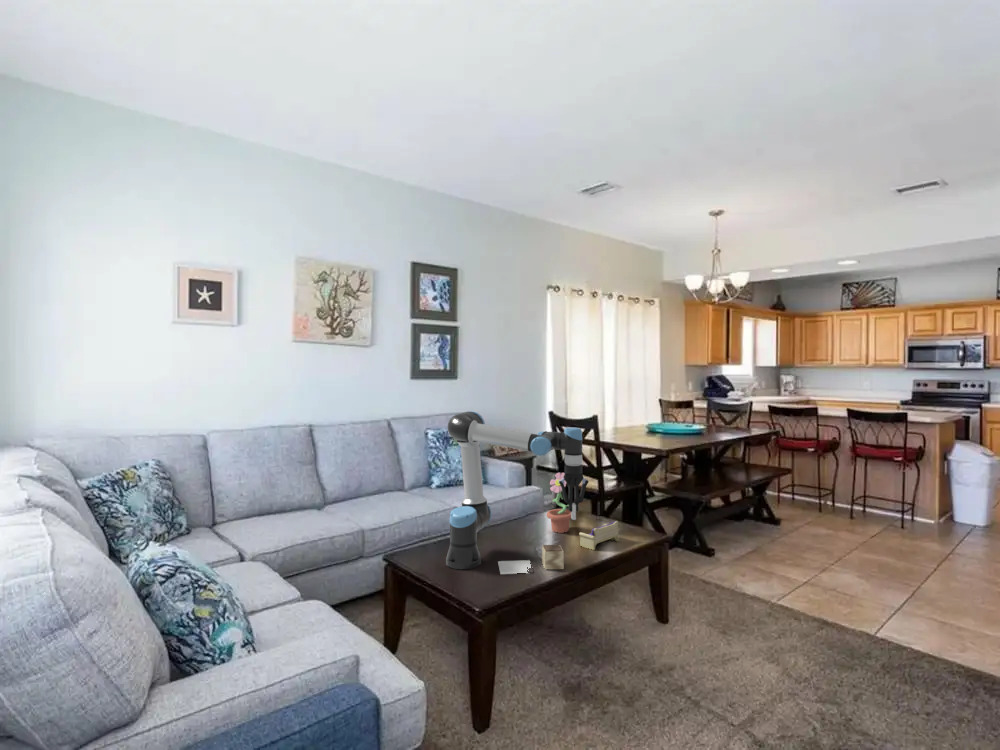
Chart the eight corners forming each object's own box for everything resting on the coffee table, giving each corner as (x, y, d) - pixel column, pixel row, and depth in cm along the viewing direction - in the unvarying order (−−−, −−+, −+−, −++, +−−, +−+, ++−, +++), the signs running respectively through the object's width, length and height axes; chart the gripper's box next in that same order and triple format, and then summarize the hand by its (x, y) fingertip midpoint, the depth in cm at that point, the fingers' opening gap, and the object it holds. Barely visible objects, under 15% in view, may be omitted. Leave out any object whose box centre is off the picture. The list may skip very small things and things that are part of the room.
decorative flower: (539, 529, 290) (539, 472, 289) (559, 524, 299) (559, 468, 298) (559, 536, 278) (559, 477, 277) (579, 531, 287) (579, 473, 286)
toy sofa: (605, 536, 279) (605, 516, 279) (619, 541, 273) (619, 520, 272) (578, 546, 265) (578, 525, 264) (593, 551, 258) (593, 529, 258)
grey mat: (500, 574, 231) (500, 573, 231) (497, 561, 245) (497, 561, 245) (534, 573, 232) (534, 572, 232) (529, 560, 246) (529, 560, 246)
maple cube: (544, 570, 235) (544, 551, 235) (541, 563, 243) (541, 544, 243) (563, 569, 236) (563, 550, 236) (560, 562, 244) (560, 544, 244)
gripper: (586, 462, 243) (586, 515, 244) (556, 462, 242) (556, 516, 243) (590, 465, 236) (590, 520, 237) (559, 466, 235) (560, 521, 236)
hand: (573, 518), depth 240 cm, fingers closed
